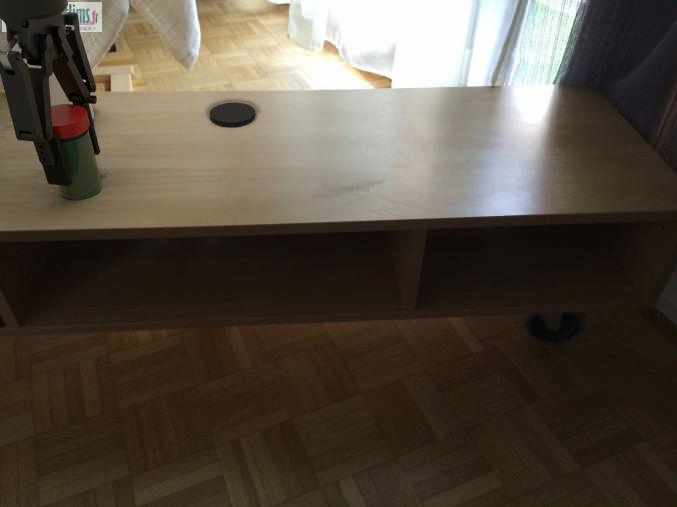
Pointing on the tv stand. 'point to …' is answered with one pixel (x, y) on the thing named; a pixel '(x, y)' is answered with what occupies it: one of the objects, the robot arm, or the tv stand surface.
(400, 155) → the tv stand surface
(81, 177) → the jar
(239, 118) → the coaster
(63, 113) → the jar lid
